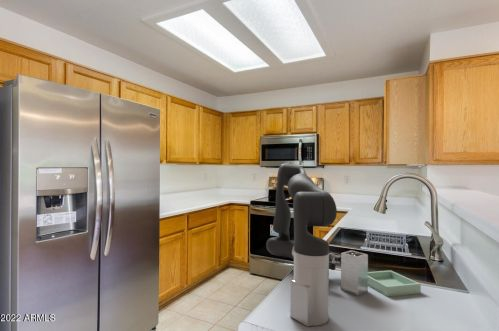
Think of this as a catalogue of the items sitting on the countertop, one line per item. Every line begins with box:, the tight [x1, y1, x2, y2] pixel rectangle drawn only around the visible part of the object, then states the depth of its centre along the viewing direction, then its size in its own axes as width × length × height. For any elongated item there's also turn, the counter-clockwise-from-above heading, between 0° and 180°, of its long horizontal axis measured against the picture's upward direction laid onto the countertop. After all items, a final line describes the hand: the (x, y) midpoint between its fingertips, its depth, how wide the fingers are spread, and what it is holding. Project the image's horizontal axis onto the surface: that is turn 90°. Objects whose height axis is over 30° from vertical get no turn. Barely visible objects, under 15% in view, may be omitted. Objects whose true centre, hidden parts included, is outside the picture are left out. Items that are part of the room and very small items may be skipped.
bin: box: [368, 269, 422, 297], centre depth 94 cm, size 13×13×3 cm
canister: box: [340, 249, 369, 297], centre depth 90 cm, size 6×6×12 cm
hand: (342, 264), depth 94 cm, fingers open, 8 cm apart
